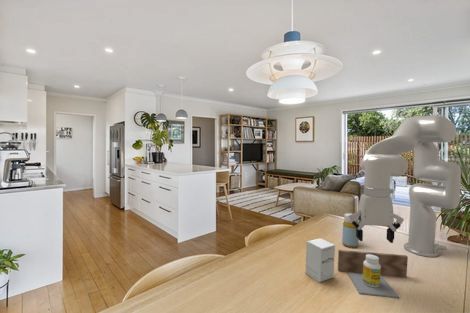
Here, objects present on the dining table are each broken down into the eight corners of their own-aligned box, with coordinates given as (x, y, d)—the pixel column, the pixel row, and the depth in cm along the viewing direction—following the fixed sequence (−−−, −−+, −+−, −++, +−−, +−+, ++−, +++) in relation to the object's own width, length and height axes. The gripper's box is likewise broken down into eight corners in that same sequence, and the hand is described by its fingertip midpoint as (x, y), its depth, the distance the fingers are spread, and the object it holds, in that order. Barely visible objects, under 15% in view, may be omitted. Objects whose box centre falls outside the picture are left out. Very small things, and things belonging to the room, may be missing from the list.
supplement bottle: (370, 278, 86) (372, 252, 86) (383, 286, 81) (385, 259, 80) (358, 280, 85) (360, 254, 84) (370, 288, 80) (372, 261, 79)
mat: (382, 277, 88) (382, 275, 88) (399, 298, 76) (399, 296, 76) (347, 273, 90) (347, 272, 90) (359, 293, 78) (359, 292, 78)
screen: (404, 275, 89) (405, 255, 88) (406, 277, 88) (407, 256, 87) (337, 269, 93) (338, 249, 92) (338, 271, 91) (339, 251, 91)
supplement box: (319, 283, 83) (321, 248, 83) (304, 272, 90) (305, 240, 89) (334, 278, 87) (335, 244, 86) (318, 268, 93) (319, 237, 93)
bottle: (360, 248, 111) (362, 217, 110) (345, 248, 111) (347, 217, 110) (353, 242, 118) (355, 213, 117) (339, 242, 118) (341, 212, 117)
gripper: (398, 190, 83) (396, 237, 84) (346, 189, 86) (345, 234, 87) (410, 195, 76) (408, 247, 77) (353, 194, 78) (351, 243, 80)
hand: (374, 240), depth 82 cm, fingers open, 9 cm apart
